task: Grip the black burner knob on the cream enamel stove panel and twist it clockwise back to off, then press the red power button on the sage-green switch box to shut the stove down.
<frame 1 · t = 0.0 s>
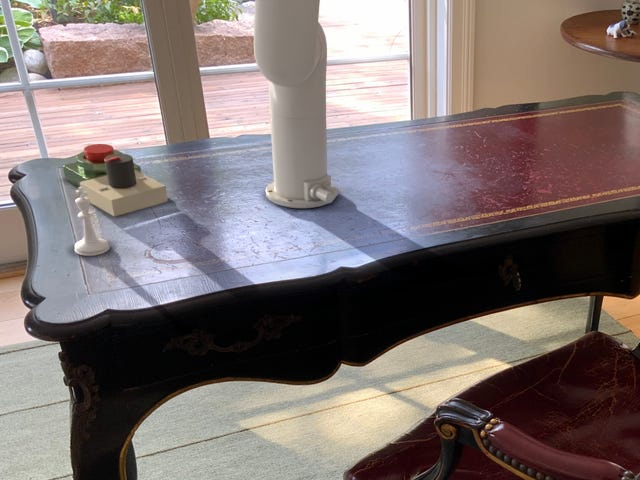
chess piece: (92, 250, 126), on the table
burner knob: (120, 170, 138), point 5 cm above the table, hinge at 100.0°
switch box: (104, 179, 148), on the table
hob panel: (125, 200, 141), on the table
power button: (99, 153, 145), point 5 cm above the table, slide at 0.1 cm
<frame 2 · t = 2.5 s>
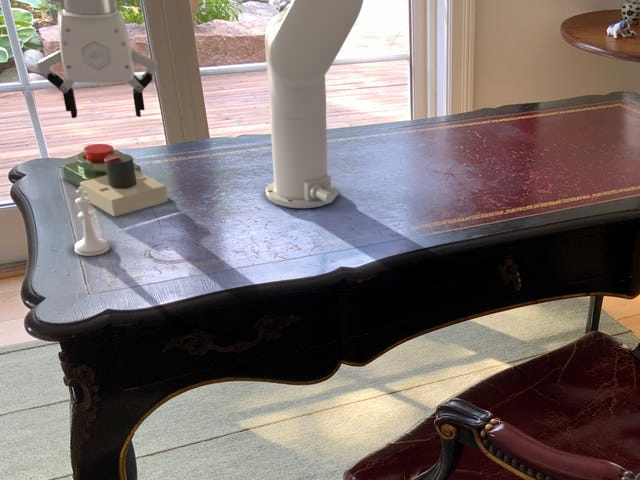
hand: (106, 114, 133), 15 cm above the table, tool pointing down, fingers open, 9 cm apart
nothing on the table moved.
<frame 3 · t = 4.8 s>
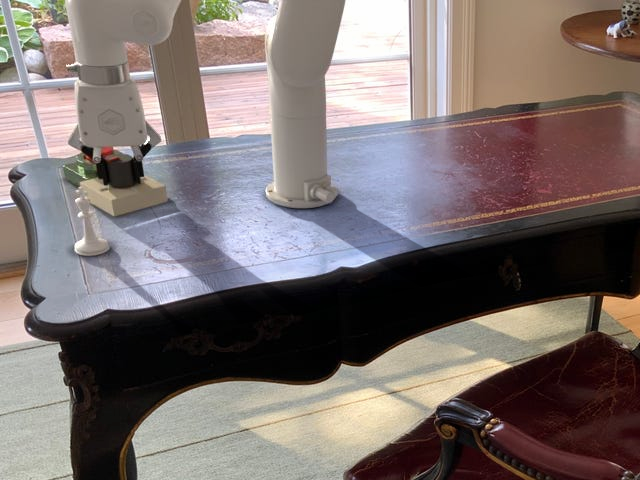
hand: (122, 180, 139), 4 cm above the table, tool pointing down, fingers closed on burner knob, 4 cm apart
burner knob: (120, 170, 138), point 5 cm above the table, hinge at 100.0°, touching gripper
everything else where it was.
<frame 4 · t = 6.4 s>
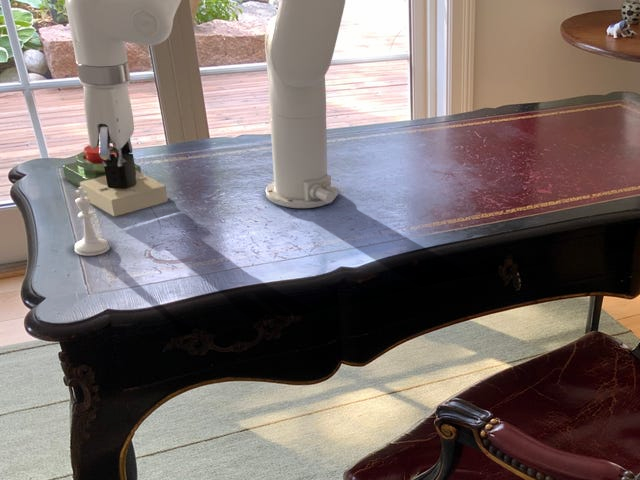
hand: (122, 180, 139), 4 cm above the table, tool pointing down, fingers closed on burner knob, 4 cm apart
burner knob: (120, 170, 138), point 5 cm above the table, hinge at -4.9°, touching gripper
everything else where it was.
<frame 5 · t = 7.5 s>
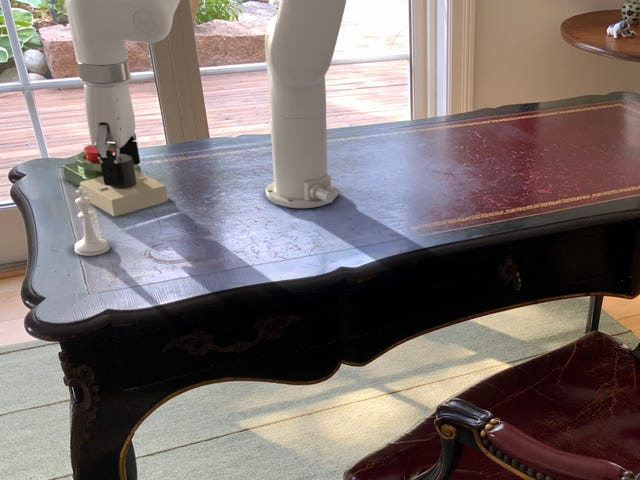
hand: (123, 174, 139), 5 cm above the table, tool pointing down, fingers open, 9 cm apart
burner knob: (120, 170, 138), point 5 cm above the table, hinge at -3.5°
everything else where it was.
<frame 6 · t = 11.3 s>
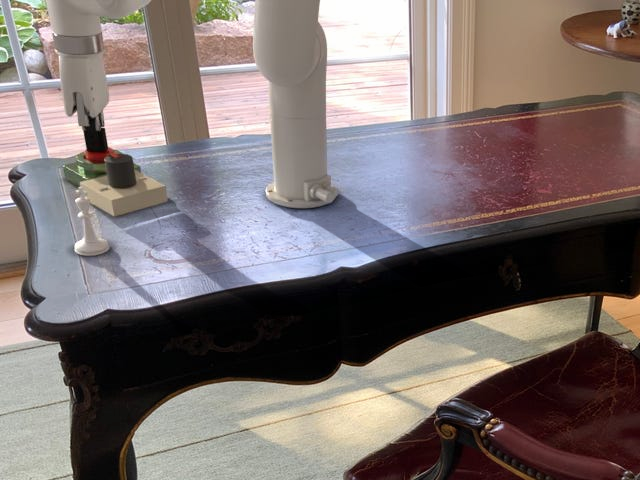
hand: (97, 150, 145), 5 cm above the table, tool pointing down, fingers closed
power button: (99, 155, 145), point 5 cm above the table, slide at -0.3 cm, touching gripper
everything else where it was.
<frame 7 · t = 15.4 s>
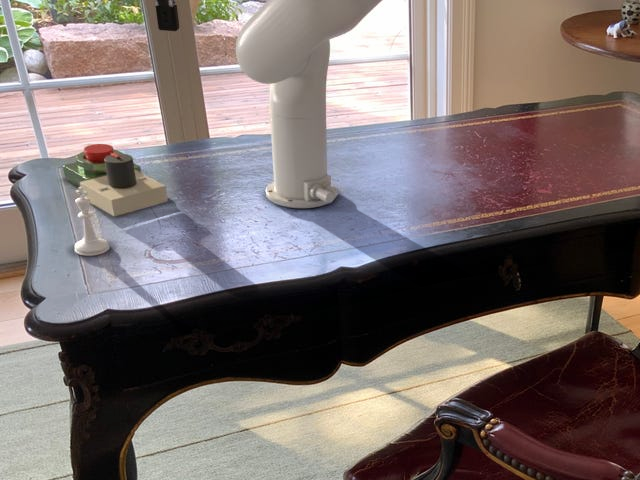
hand: (169, 29, 142), 25 cm above the table, tool pointing down, fingers closed
power button: (99, 153, 145), point 5 cm above the table, slide at 0.1 cm
everything else where it was.
at the end: burner knob at -4° (first picture: +100°); power button pushed in 0.9 cm at the most during the clip, back to where it started at the end; power button slide at 0.1 cm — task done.
